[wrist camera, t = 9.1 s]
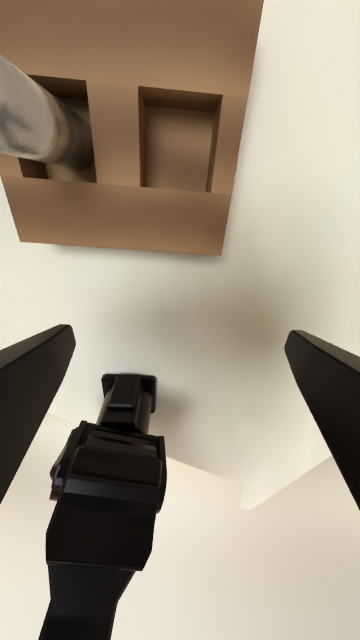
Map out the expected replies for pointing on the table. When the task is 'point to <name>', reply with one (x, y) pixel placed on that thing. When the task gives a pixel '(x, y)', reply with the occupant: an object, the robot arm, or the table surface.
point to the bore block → (134, 118)
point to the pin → (40, 123)
